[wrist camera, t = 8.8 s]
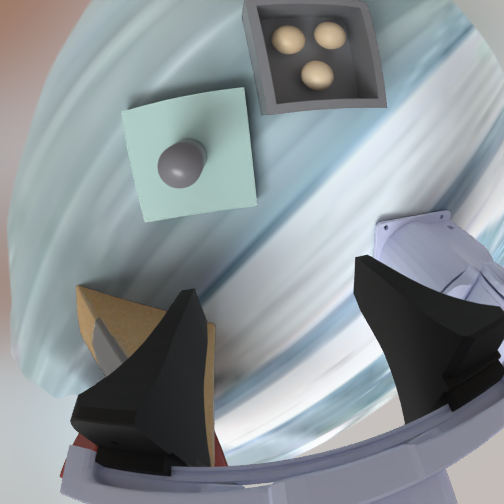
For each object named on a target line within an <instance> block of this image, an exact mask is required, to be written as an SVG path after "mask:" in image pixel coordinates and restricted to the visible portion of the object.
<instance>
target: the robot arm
mask: <svg viewBox="0 0 504 504" xmlns="http://www.w3.org/2000/svg"><path fill="white" fill-rule="evenodd" d="M440 216H441V217H440ZM450 219H451V212H450V211H449V210H444V211H438V212H433V213H427V214H421V215H416V216H410V217H405V218H399V219H394V220H388V221H382V222H379V223H377V224H376V226H375V242H374V258H373V257H371V256H369V255H364V256H359V257H355V276H354V296H355V298H356V301H357V303H358V305H359V308H360V310H361V312H362V314H363V316H364V317H365V319H366V321H367V323H368V325H369V326H370V328H371V330H372V332H373V333H374V335H375V337H376V339H377V340H378V342H379V344H380V346H381V348H382V350H383V352H384V354H385V357H386V359H387V362H388V364H389V367H390V370H391V373H392V376H393V379H394V382H395V385H396V388H397V391H398V395H399V399H400V402H401V407H402V411H403V416H404V421H405V425H404V426H401V427H399V428H396V429H394V430H391V431H389V432H386V433H384V434H381V435H378V436H376V437H373V438H370V439H367V440H364V441H361V442H358V443H355V444H351V445H348V446H345V447H341V448H338V449H334V450H330V451H326V452H322V453H318V454H314V455H309V456H304V457H299V458H294V459H288V460H282V461H276V462H268V463H260V464H251V465H240V466H224V467H211V462H210V456H209V449H208V442H207V433H206V422H205V408H204V378H205V367H206V356H207V345H208V331H207V320H206V318H205V315H204V313H203V310H202V307H201V305H200V302H199V299H198V297H197V294H196V291H195V289H189V290H183V291H181V292H180V293H179V295H178V296H177V298H176V299H175V301H174V302H173V304H172V305H171V307H170V308H169V310H168V311H167V312H166V314H165V315H164V317H163V318H162V320H161V321H160V322H159V324H158V325H157V326H156V327H155V329H154V330H153V331H152V333H151V334H150V335H149V337H148V338H147V339H146V340H145V341H144V342H143V344H142V345H141V346H140V347H139V348H138V349H137V350H136V351H135V352H134V353H133V354H132V355H131V356H130V357H129V358H128V359H127V360H126V361H125V362H124V363H122V364H121V365H120V366H119V367H118V368H117V369H116V370H114V371H113V372H112V373H111V374H109V375H108V376H107V377H105V378H104V379H103V380H101V381H100V382H99V383H97V384H96V385H94V386H92V387H91V388H89V389H88V390H86V391H84V392H83V393H81V394H79V395H78V398H77V401H76V404H75V407H74V410H73V413H72V417H71V420H70V421H71V425H72V426H73V428H74V429H75V430H76V431H77V432H79V433H80V434H81V435H83V436H84V437H85V438H87V439H88V440H90V441H91V442H92V443H94V444H95V445H97V446H98V449H97V452H95V451H93V450H90V449H86V448H82V447H78V446H74V445H70V446H69V450H68V454H67V459H66V463H65V468H64V473H63V479H62V484H61V491H60V492H61V494H63V495H65V496H68V497H70V498H72V499H75V500H78V501H80V502H83V503H86V504H458V503H457V500H456V497H455V494H454V491H453V488H452V485H451V482H450V480H449V477H448V474H447V471H446V468H448V467H449V466H451V465H452V464H454V463H456V462H457V461H459V460H460V459H462V458H464V457H465V456H467V455H468V454H470V453H471V452H472V451H474V450H475V449H477V448H478V447H479V446H481V445H482V444H483V443H485V442H486V441H487V440H489V439H490V438H491V437H493V435H495V434H496V433H498V432H499V431H500V430H501V429H502V428H504V268H503V267H502V266H501V265H499V264H498V263H496V262H493V259H492V257H491V255H490V253H489V251H488V250H487V248H486V247H485V246H484V245H483V244H481V243H480V242H479V241H477V240H476V239H475V238H474V237H472V236H471V235H470V234H468V233H467V232H466V231H464V230H463V229H462V228H460V227H459V226H457V225H456V224H455V223H453V222H452V221H450ZM386 225H387V226H386ZM385 226H386V228H384V227H385ZM269 482H274V483H273V484H272V485H266V486H259V487H253V488H245V487H243V486H242V485H250V484H261V483H269Z"/></svg>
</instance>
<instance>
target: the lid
mask: <svg viewBox="0 0 504 504" xmlns="http://www.w3.org/2000/svg"><path fill="white" fill-rule="evenodd" d="M121 116H122V122H123V128H124V134H125V139H126V145H127V150H128V155H129V160H130V164H131V169H132V174H133V178H134V182H135V187H136V191H137V195H138V199H139V203H140V207H141V211H142V214H143V218H144V222H151V221H157V220H163V219H169V218H175V217H181V216H188V215H194V214H201V213H208V212H215V211H222V210H229V209H237V208H245V207H253V206H257V198H256V189H255V179H254V170H253V161H252V152H251V143H250V134H249V125H248V116H247V108H246V99H245V90H244V87H242V88H233V89H225V90H217V91H211V92H204V93H198V94H193V95H188V96H182V97H178V98H173V99H168V100H164V101H160V102H156V103H152V104H148V105H144V106H140V107H137V108H133V109H130V110H126V111H123V112H121Z"/></svg>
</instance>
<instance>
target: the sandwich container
mask: <svg viewBox="0 0 504 504" xmlns="http://www.w3.org/2000/svg"><path fill="white" fill-rule="evenodd" d="M76 295H77V314H78V320H79V326H80V332H81V335H82V337H83V339H84V341H85V343H86V344H87V346H88V348H89V350H90V352H91V353H92V355H93V357H94V358H95V360H96V362H97V363H98V365H99V367H100V368H101V370H102V372H103V373H104V375H105V376H106V377H107V376H108V375H109V374H111V373H112V372H113V371H114V370H116V369H117V368H118V367H119V366H120V365H121V364H122V363H124V362H125V361H126V360H127V359H128V358H129V357H130V356H131V355H132V354H133V353H134V352H135V351H136V350H137V349H138V348H139V347H140V346H141V345H142V344H143V342H144V341H145V340H146V339H147V338H148V337H149V335H150V334H151V333H152V331H153V330H154V329H155V327H156V326H157V325H158V324H159V322H160V321H161V320H162V318H163V317H164V315H165V314H166V312H167V311H164V310H161V309H157V308H153V307H150V306H146V305H142V304H138V303H135V302H131V301H128V300H124V299H121V298H117V297H114V296H111V295H107V294H104V293H101V292H97V291H94V290H91V289H88V288H85V287H82V286H79V285H77V286H76ZM207 331H208V345H207V356H206V367H205V378H204V408H205V422H206V433H207V442H208V449H209V456H210V462H211V467H214V464H215V440H214V372H215V325H214V324H212V323H208V322H207Z"/></svg>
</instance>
